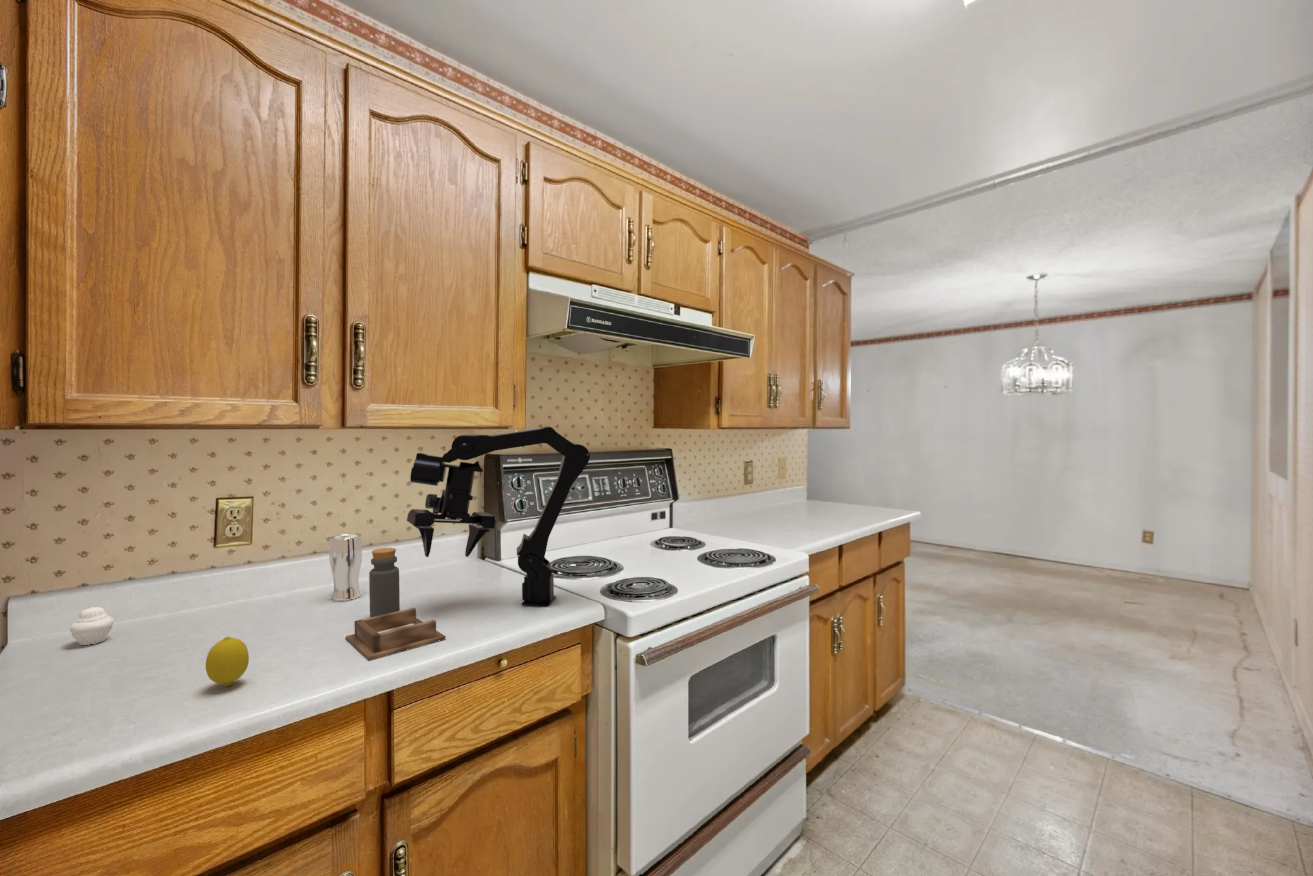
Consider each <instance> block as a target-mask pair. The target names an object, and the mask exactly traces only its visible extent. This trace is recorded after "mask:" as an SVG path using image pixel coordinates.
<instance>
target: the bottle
mask: <svg viewBox="0 0 1313 876" xmlns="http://www.w3.org/2000/svg"><path fill="white" fill-rule="evenodd" d="M396 551H397V549H396V548H395V547H381V548H377V549H373V550H372V551H371V554H372V558H371V559H370V564H371V565H372V566H373V568H372V569H370V571H369V572H368V574H369V576H368V580H369V581H368V583H369V588H368V589H369V590H368V591H369V618H370V617H375V616H379V615H383V614H388V613H392V612H397V611H401V608H400V606H401V605H400V603H401V601H400V598H401V597H400V569H399V567H398V566H396V565H395V563H397V562H398V557H397V556H396Z"/></svg>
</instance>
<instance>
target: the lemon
mask: <svg viewBox="0 0 1313 876" xmlns="http://www.w3.org/2000/svg"><path fill="white" fill-rule="evenodd" d="M249 656H250V654H249V651H248V646H247V645H246V643H245V642H244V641H242V640H241V639H239V638H235V637H231V636H225V637H224V638H223V639H221V640H219V641H218V642H216V643H214V645H213V646H211V648H210V649H209V651H208V653H207V656H206V658H205V670H206V674H207V677H208V678H209V680H211V681H212V682H213V683H215V684H220V685H223V686H224V687H229V686H231V685H232V684H233V683H234V682H235V681H237V680H238V679H240V678H241V677H242V676H243V675H244V674H245V672H246V670H247V669H248V666H249V659H250V657H249Z"/></svg>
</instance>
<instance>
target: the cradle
mask: <svg viewBox="0 0 1313 876" xmlns="http://www.w3.org/2000/svg"><path fill="white" fill-rule="evenodd" d="M445 638H447V637H446V635H444V634H443V633H441V632H440V631H438V630H437V621H436V620H435V619H431V620H426V621H422V620H420V619H419V618H417V609H416V607H410V608H407V609H402V610H401V609H400V611H397V612H392V613H388V614H383V615H379V616H375V617H370V616H369V617H367V618H363V619H357V620H354V633H353V634H348V635H345V640H346V641H347V640H348V641H347V642H348V643H349V642H350V643H351V644H352V645H353V646H354V647H353V646H352V645H351V644H350V643H349V644H350V645H351V646H352V647H353V648H354V649H355V650H356V651H358V652H359V651H360V652H359V653H360V654H361V653H362V654H361V655H362V656H363V655H364V656H365V657H366V658H367V659H368V660H367V659H366V658H365V657H364V656H363V657H364V658H365V659H366V660H367V661H369V660H370V661H372V660H371V659H373V660H377V659H380V658H383V656H384V657H387V656H386V655H388V656H391V655H393V654H392V653H395V654H398V653H400V652H399V651H402V652H405V650H406V651H408V650H407V649H409V650H412V648H413V649H415V648H420V647H423V646H427V645H430V643H431V644H433V643H432V642H434V643H438V642H440V641H439V640H442V641H444V640H443V639H445ZM445 640H446V639H445ZM437 641H438V642H437ZM426 644H427V645H426ZM397 652H398V653H397ZM390 654H391V655H390ZM379 657H380V658H379Z"/></svg>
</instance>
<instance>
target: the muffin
mask: <svg viewBox="0 0 1313 876" xmlns="http://www.w3.org/2000/svg"><path fill="white" fill-rule="evenodd" d="M114 623H115V619H114V618H113V617H112V616H110V615H108V613H107V612H106V610H105V609H104V608H103V607H98V606H95V607H92V606H91V607H89V608H85V609H83V610H81V611H80V612H79V613H78V617H77V618H76V619H75V621H74V622H73V623H72V624H71V625H70V626H69V628H68V630H69V632H70V633H71V636H72V637H73V638H74V639H75V640H76V641H77V642H78V644H79V645H80V646H82V645H84V646H85V645H88V646H91V645H90V644H94V645H97V644H96V643H98V644H100V643H99V642H101V643H103V642H105V640H106V638H107V637H108V635H109V633H110V632H111V630H112V628H113V626H114ZM102 641H103V642H102ZM84 646H83V647H84ZM85 647H86V646H85Z"/></svg>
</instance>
